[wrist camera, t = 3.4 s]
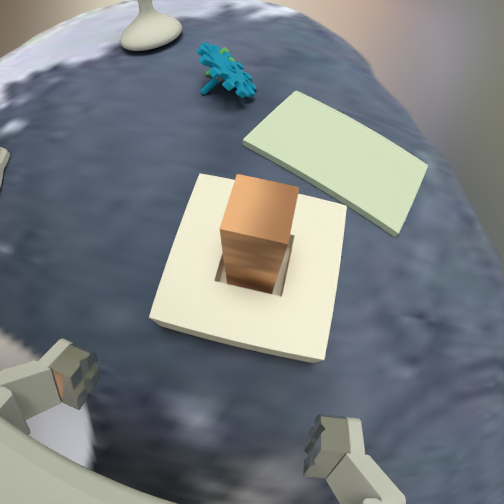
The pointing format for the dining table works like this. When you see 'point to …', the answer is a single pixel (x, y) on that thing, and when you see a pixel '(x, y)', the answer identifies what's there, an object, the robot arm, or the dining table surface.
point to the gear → (225, 71)
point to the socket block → (246, 300)
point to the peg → (256, 231)
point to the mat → (341, 159)
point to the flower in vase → (149, 29)
